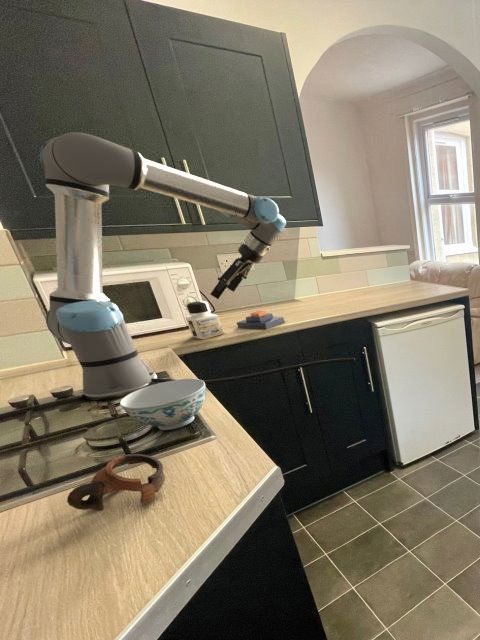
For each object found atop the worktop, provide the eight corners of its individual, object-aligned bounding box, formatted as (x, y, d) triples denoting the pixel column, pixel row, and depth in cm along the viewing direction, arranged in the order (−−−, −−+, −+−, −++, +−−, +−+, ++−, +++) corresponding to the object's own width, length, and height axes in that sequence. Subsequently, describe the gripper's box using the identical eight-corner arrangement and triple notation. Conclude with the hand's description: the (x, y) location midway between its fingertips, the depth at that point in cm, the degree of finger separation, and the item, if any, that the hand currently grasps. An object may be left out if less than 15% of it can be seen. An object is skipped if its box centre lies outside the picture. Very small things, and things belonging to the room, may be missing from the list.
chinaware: (228, 416, 97) (217, 386, 94) (151, 447, 86) (136, 413, 83) (197, 402, 105) (187, 374, 102) (123, 429, 93) (108, 398, 90)
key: (267, 315, 173) (265, 311, 172) (259, 317, 169) (258, 313, 168) (259, 315, 173) (257, 310, 173) (251, 317, 170) (250, 313, 169)
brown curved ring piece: (132, 480, 76) (143, 443, 74) (171, 509, 75) (183, 472, 73) (46, 510, 64) (56, 467, 62) (90, 544, 63) (102, 501, 61)
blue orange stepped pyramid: (284, 322, 175) (282, 312, 174) (266, 328, 167) (263, 319, 165) (257, 321, 179) (254, 311, 177) (238, 327, 170) (235, 318, 168)
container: (202, 339, 156) (190, 305, 151) (192, 337, 160) (179, 303, 154) (224, 333, 162) (213, 300, 157) (213, 331, 166) (202, 299, 161)
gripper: (251, 259, 143) (217, 306, 146) (274, 251, 165) (245, 292, 169) (229, 244, 140) (195, 292, 143) (256, 238, 162) (226, 280, 166)
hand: (222, 292), depth 156 cm, fingers open, 13 cm apart
